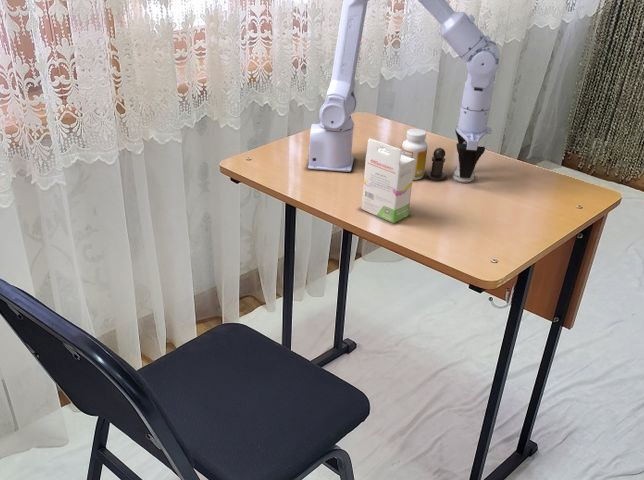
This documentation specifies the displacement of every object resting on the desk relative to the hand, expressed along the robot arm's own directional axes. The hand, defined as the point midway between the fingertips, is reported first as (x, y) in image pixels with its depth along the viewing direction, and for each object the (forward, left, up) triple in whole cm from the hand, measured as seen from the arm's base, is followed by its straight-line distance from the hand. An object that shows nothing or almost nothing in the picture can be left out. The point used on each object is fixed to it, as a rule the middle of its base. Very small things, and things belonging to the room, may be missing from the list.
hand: (464, 170), depth 157 cm
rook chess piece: (0, 0, -2) cm, 2 cm away
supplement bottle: (-11, 0, -2) cm, 11 cm away
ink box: (-16, -19, -2) cm, 25 cm away
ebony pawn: (-6, 0, -2) cm, 6 cm away
